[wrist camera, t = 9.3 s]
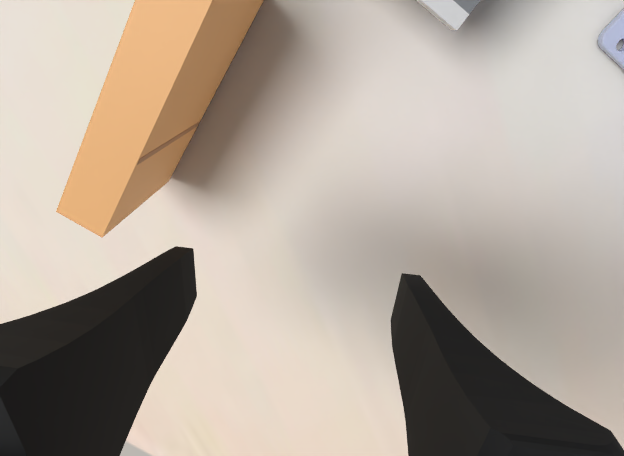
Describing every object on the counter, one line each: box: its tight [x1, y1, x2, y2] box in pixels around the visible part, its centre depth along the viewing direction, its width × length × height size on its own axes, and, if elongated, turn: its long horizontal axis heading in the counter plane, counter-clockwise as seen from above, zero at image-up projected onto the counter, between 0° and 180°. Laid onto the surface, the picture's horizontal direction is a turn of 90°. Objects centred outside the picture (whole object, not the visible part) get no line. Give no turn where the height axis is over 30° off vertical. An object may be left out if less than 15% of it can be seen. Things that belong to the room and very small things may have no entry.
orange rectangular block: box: [56, 0, 264, 237], centre depth 16 cm, size 11×2×7 cm, turn 146°
